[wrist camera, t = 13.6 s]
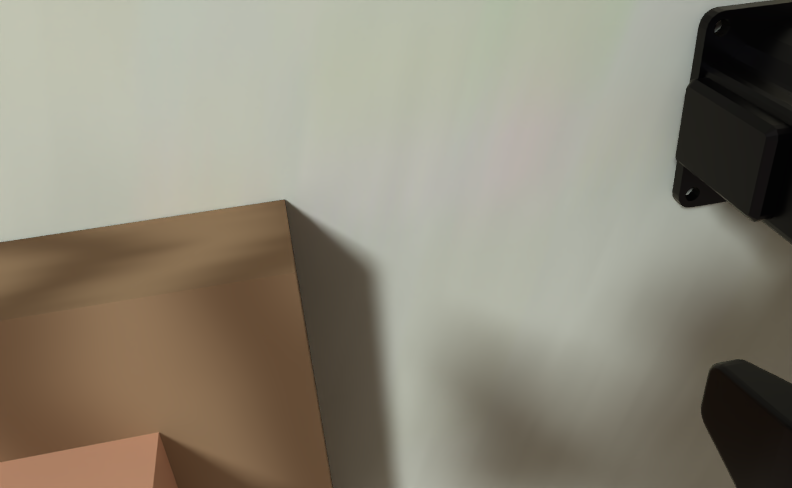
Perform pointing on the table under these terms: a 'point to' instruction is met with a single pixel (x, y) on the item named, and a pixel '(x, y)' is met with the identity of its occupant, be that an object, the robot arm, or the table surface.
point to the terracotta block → (95, 466)
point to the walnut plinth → (165, 347)
